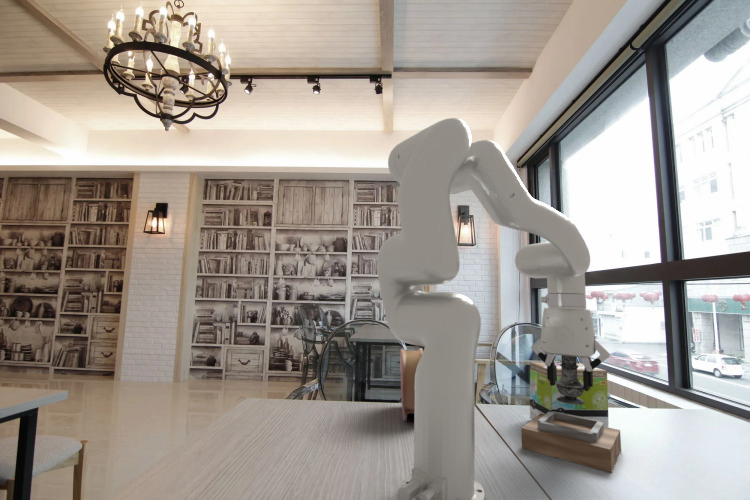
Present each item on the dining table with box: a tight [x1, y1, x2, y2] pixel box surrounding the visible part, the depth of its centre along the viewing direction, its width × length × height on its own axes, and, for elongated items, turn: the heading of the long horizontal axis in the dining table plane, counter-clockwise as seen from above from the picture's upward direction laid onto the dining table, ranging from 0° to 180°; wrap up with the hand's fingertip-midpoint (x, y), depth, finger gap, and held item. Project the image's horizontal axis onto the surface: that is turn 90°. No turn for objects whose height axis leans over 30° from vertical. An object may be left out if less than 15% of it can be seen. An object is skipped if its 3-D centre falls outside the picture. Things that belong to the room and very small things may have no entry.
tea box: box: [529, 361, 609, 428], centre depth 94 cm, size 15×10×15 cm, turn 97°
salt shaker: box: [555, 355, 585, 405], centre depth 80 cm, size 6×6×12 cm
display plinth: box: [521, 411, 622, 474], centre depth 78 cm, size 14×16×6 cm
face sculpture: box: [399, 347, 424, 423], centre depth 99 cm, size 20×7×17 cm, turn 179°
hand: (569, 386), depth 80 cm, fingers closed on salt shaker, 5 cm apart
